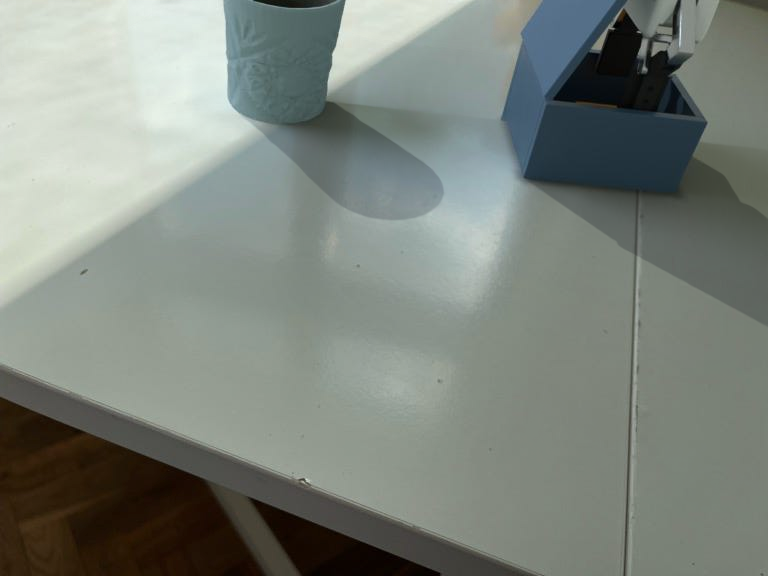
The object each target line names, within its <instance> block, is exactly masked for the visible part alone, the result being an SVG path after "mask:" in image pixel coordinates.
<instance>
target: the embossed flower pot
mask: <svg viewBox="0 0 768 576" xmlns="http://www.w3.org/2000/svg"><path fill="white" fill-rule="evenodd" d="M346 1H347V0H222V2H223V13H224V21H225V56H226V60H227V61H226V62H227V63H226V71H227V81H226V82H227V84H226V85H227V87H226V88H227V89H226V91H227V92H226V93H227V95H226V96H227V101H228V103H229V104H230V106H231V107H232V108H233V109H234V110H235V111H236V112H238V113H239V114H240V115H242V116H245V117H247V118H249V119H252V120H254V121H259V122H262V123H268V124H278V125H287V124H291V125H292V124H298V123H303V122H305V121H306V122H307V121H310V120H312V119H315V118H316V117H317V116H319V115H320V114H321V113H322V112H323V110H324V109H325V105H326V101H327V96H328V91H329V89H328V88H329V87H328V85H329V84H328V83H329V82H328V81H329V78H330V73H331V70H332V67H333V54H334V52H335V49H336V48H337V44H338V39H339V32H340V29H341V23H342V19H343V15H344V10H345V5H346Z"/></svg>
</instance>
